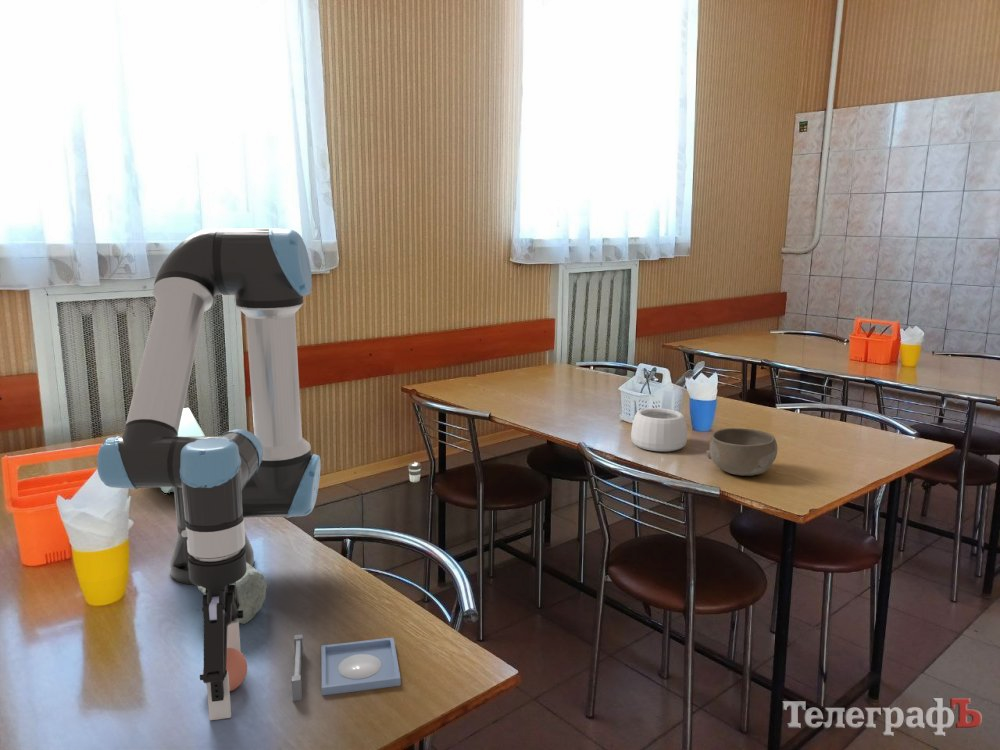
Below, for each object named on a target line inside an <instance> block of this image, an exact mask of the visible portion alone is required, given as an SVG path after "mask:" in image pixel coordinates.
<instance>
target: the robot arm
mask: <svg viewBox="0 0 1000 750" xmlns="http://www.w3.org/2000/svg"><path fill="white" fill-rule="evenodd" d="M306 246H307V245H306V244H305V241H304V239H303V238H302V236H301V235H300V233H298V232H297V231H296V230H293V229H287V228H286V229H285V228H275V227H263V228H262V227H261V228H256V227H255V228H252V227H251V228H249V227H248V228H221V227H212V228H206V229H201V230H200V231H199V230H198V231H197V232H194V233H193V234H191V235H190V236H188V237H186V239H183V240H182V241H181V242H180V243H179V244H178V245H177V246H175V247H174V249H173V250H171V252H170V253H169V254H168V256H167V257H166V258H165V260H164V261H163V263H162V264H161V266H160V268H159V270H158V272H157V274H156V277H155V280H154V283H153V286H152V287H153V288H152V294H153V295H152V296H153V297H154V299H155V301H156V303H155V306H154V312H153V315H152V317H151V318H152V319H151V322H150V327H149V330H148V334H147V339H146V342H145V345H144V346H145V347H144V349H143V350H144V351H143V355H142V357H141V358H142V359H141V361H140V367H139V369H138V375H137V377H136V382H135V387H134V390H133V392H132V393H133V394H132V396H131V397H132V398H131V402H130V407H129V409H128V410H129V411H128V413H127V414H128V415H127V418H126V421H125V425H124V430H123V432H122V435H121V436H119V435H117V436H115V437H114V436H111V437H108V438H106V439H105V440H104V441H103V442H102V444H101V446H100V447H99V449H98V452H97V456H96V457H97V458H96V467H97V474H98V477H99V479H100V481H101V482H102V483H103V485H105V486H107V487H109V488H114V489H117V488H118V489H131V490H138V489H151V488H160V487H174V492H173V496H174V506H175V507H174V508H175V518H176V526H177V527H176V528H177V537H176V538H175V544H174V547H173V551H172V555H171V559H170V564H169V566H170V567H169V568H170V574H171V575H170V576H171V578H172V579H173V580H174V581H176V582H178V583H180V584H184V585H190V586H191V585H192V586H197V587H198V586H199V587H200V586H201V587H204V588H206V594H203V595H202V610H201V611H202V615H203V617H202V619H203V668H204V674H203V673H202V674H199V681H203V683H204V684H206V683H207V685H206V691H207V693H206V694H207V705H208V716H209V717H208V718H209V719H208V720H209V721H214V720H215V721H216V720H224V719H230V718H232V708H231V706H232V704H231V695H230V692H231V691H230V689H229V675H228V671H227V670H226V663H227V648H233V649H236V650H238V651H239V652H241V640H240V638H241V637H240V636H241V634H240V623H239V620H237V621H236V620H235V619H239V618H243V610H240V611H238V610H237V609H239V607H240V603H239V600H238V594H237V588H236V581H238V580H240V579H241V578H242V577H243V576H244V575H245V573H246V562H247V563H248V564H249V565H251V566H252V567H254V564H255V554H254V553H255V552H254V548H253V546H252V544H251V541H250V540H249V538H248V535H247V532H246V530H245V518H246V519H247V518H286V519H289V518H291V517H305V516H308V515H309V514H311V513H312V512H313V509H314V508H315V506H316V501H317V497H318V493H319V492H318V491H319V486H320V478H321V467H322V465H321V464H322V462H321V457H320V455H319V454H318V455H317V454H314V453H313V454H312V448H311V443H309V442H308V441H307V440H306V439H305V438H304V437H303V433H302V430H303V429H302V417H301V416H302V415H301V397H300V394H301V393H300V379H299V378H300V377H299V362H298V361H299V360H298V344H297V343H298V342H297V341H298V340H297V328H296V327H297V324H296V322H297V321H296V320H297V319H296V313H297V312H298V311H299V309H301V307H302V306H304V297H306V296H309V295H310V294H311V292H312V286H313V285H312V284H313V283H312V282H313V281H312V277H313V275H312V268H311V263H310V257H309V253H308V249H307V247H306ZM220 295H223V296H234V298H235V299H234V300H235V307H236V308H237V309H238V310H239V311H240V312H241V313H243V314H244V315H245V323H246V326H245V327H246V339H247V350H248V351H247V354H248V365H249V380H250V393H251V395H250V396H251V408H252V409H251V410H252V419H253V420H252V422H253V433H252V432H250V431H248V430H245V429H241V428H240V429H239V428H236V429H231V430H229V431H228V430H227V431H226V432H223V433H222V434H221V435H219V436H215V435H211V436H210V435H209V436H208V435H207V436H206V435H205V436H201V437H178V431H179V426H180V421H181V417H182V412H183V408H184V407H185V402H186V397H187V392H188V388H189V383H190V380H191V379H190V378H191V374H192V370H193V366H194V365H193V364H194V362H195V361H194V360H195V356H196V351H197V347H198V342H199V337H200V333H201V329H202V324H203V318H204V315H205V314H204V313H205V312H207V311H208V310H210V309H211V308H212V306H213V303H214V298H215V297H217V296H220ZM241 653H242V652H241Z"/></svg>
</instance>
